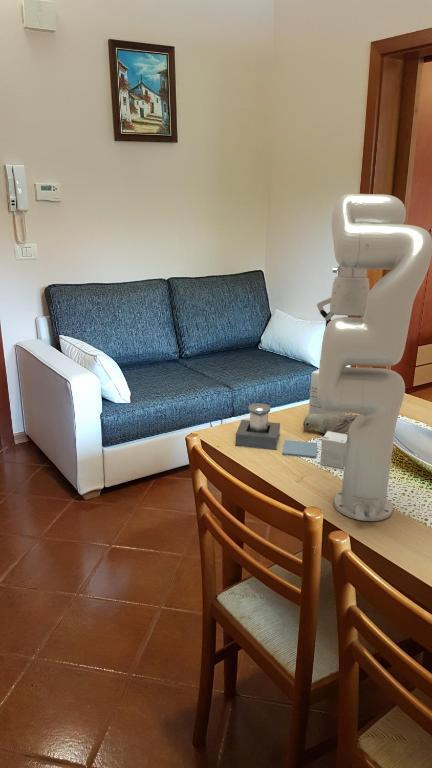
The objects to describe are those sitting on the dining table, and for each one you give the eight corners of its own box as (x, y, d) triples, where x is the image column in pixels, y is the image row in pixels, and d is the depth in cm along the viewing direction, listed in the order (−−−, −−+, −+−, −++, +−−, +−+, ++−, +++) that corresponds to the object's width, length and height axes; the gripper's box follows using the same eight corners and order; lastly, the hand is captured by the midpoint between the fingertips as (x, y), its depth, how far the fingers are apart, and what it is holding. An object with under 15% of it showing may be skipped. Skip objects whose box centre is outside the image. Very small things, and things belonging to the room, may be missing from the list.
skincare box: (348, 460, 147) (350, 434, 145) (342, 469, 142) (345, 442, 139) (325, 456, 149) (327, 430, 147) (319, 464, 144) (321, 438, 142)
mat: (316, 458, 148) (316, 456, 147) (282, 454, 149) (282, 452, 149) (317, 444, 156) (317, 442, 156) (284, 441, 158) (284, 439, 157)
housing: (276, 449, 152) (276, 437, 151) (235, 445, 154) (235, 434, 153) (279, 434, 163) (280, 423, 162) (241, 430, 165) (241, 419, 164)
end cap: (267, 445, 155) (269, 411, 152) (245, 443, 156) (247, 409, 153) (269, 437, 161) (271, 404, 158) (248, 435, 162) (250, 402, 159)
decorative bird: (304, 428, 168) (306, 404, 166) (359, 436, 163) (361, 412, 161) (301, 434, 163) (302, 410, 161) (357, 443, 158) (359, 418, 156)
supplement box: (319, 409, 184) (323, 365, 179) (345, 416, 179) (349, 370, 174) (307, 417, 177) (310, 371, 172) (333, 424, 172) (337, 377, 167)
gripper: (319, 272, 149) (314, 335, 154) (386, 275, 146) (379, 340, 151) (320, 270, 156) (315, 330, 161) (384, 272, 153) (377, 334, 158)
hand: (346, 335), depth 156 cm, fingers open, 9 cm apart
